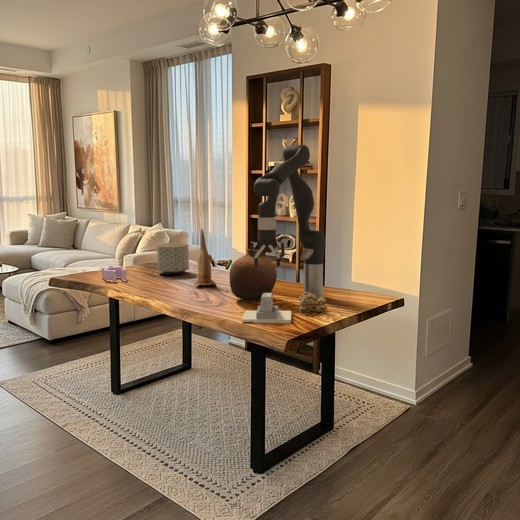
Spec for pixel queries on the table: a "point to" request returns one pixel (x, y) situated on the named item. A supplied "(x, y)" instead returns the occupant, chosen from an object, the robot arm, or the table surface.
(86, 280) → the table surface
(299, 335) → the table surface
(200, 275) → the brown spire tower
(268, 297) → the medicine box
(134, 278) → the table surface
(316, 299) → the mineral formation
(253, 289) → the pottery
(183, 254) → the planter
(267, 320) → the holder
